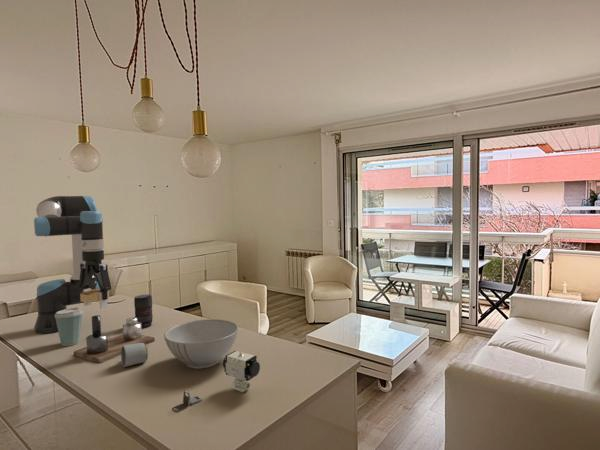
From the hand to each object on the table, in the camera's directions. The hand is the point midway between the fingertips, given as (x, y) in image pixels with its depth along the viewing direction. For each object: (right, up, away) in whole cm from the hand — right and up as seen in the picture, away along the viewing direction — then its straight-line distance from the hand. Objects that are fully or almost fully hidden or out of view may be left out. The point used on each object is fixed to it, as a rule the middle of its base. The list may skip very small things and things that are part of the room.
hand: (95, 306), depth 146 cm
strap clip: (+48, -21, -38) cm, 64 cm away
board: (+4, -19, +8) cm, 21 cm away
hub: (+8, -17, +15) cm, 24 cm away
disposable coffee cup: (-19, -19, +14) cm, 30 cm away
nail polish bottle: (0, -18, +1) cm, 18 cm away
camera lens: (+4, -18, +36) cm, 40 cm away
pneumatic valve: (+62, -20, -29) cm, 72 cm away
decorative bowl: (+45, -19, -7) cm, 49 cm away
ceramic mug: (+18, -20, -7) cm, 28 cm away
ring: (0, +3, 0) cm, 3 cm away
